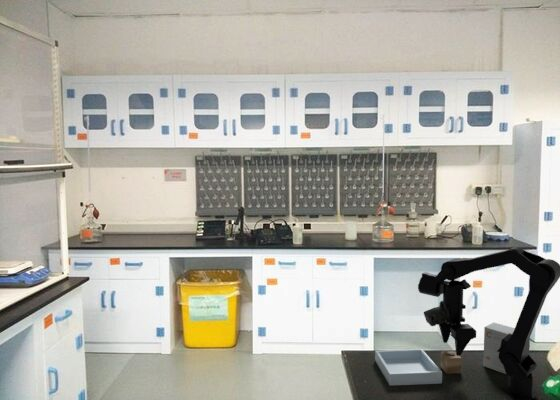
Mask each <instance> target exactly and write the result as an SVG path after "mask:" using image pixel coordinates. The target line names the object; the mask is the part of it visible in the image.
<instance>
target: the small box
mask: <svg viewBox="0 0 560 400" xmlns="http://www.w3.org/2000/svg"><path fill="white" fill-rule="evenodd" d="M514 329H515V327H511V326H508V325H504V324H500V323H497V322H492V323H490V324H488V325H486V326H484V328H483V330H484V331H483V336H484V337H483V360H482V362H483V366H482V367H484V368H488V369H490V370H493V371H496V372H499V373H501V374H505V375H506V372H505V369H504V366H503V364H502V363H501V361H500V360H499V353H500V352H497V350H499V348H500V346H501V341H502V339H503V338H504V337H505V336H507V335H508V334H509V333H510V334H513V332H514Z"/></svg>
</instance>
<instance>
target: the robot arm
mask: <svg viewBox="0 0 560 400" xmlns="http://www.w3.org/2000/svg"><path fill="white" fill-rule="evenodd" d="M509 264H510V265H511V264H512V265H514V266H516V268H517V269H519V270H520V271H521V272H523V273H524V274H526V275H528V276H529V279H528V287H529V288H528V289H529V291H528V293H527V296H526V299H525V301H524V304H523V306H522V309H521V311H520V315H519V316H518V319H517V321H516V324H515V326H514V328H515V329H514V332H513V334H510V333H509V334H508V335H507V336H505V337H504V338H503V339H502V341H501V346H500V348H499V350H497V352H500V353H499V360H500V361H501V363H502V364H503V366H504V369H505V372H506V374H505V375H506V376H507V385H503V386H502V389H503V390H504V391H505V392H506V393H507V394H508V395H509V396H510V397H511V398H513V400H537V399H538V396H537V395H536V394H534V392H533V383H534V379H533V374H532V372H534V371H535V369H536V367H537V365H538V364H537V363H536V361H535V360H534V359H533V358H532V356H530V354H529V353H530V343H531V342H530V338H531V335H532V333H533V331H534V328H535V326H536V323H537V320H538V317H539V316H540V313H541V310H542V309H543V306H544V303H545V300H546V298H547V296H548V294H549V292H551V290H552V289H553V287H555V285H556V284H557V283H558V281H559V280H560V263H559V262H558V261H556V260H554V259H549V258H547V259H546V258H545V257H542V256H541V255H539V254H535V253H533V252H530V251H527V250H525V249H524V248H523V249H522V248H521V247H519V246H515V247H512V248H509V249H505V250H502V251H498V252H492V253H489V254H484V255H481V256H477V257H458V258H456V257H455V258H453V259H450V260H447V261H444V262H443V263H442V264H441V267H440V271H439V272H438V273H437V274H433V273H429V272H426V271H425V272H422V273H421V277H420V279H419V280H418V284H417V289H418V292H419V293H420V294H423V295H428V296H432V297H436V298H438V297H440V296H441V295H442V300H440V302H439V306H436V307H432V308H430V309H427V310H425V311H423V316H424V318H425V321H426V323H427V324H429V326H430V327H436V326H438V327H439V330H440V334H441V337H442V342H443V343H444V344H445V343H446V344H447V343H448V341H449V339H450V336H451V337H452V338H453V339H454V347H455V352H456V355H457V356H460V357H461V355H462V354H463V352H464V350H465V349H466V347H467V346H468V344H469V343H470V342H471V340H473V339H476V338H477V330H476V329H475V328H474V327H472V326H471V325H470V324H469V323H465V322H466V318H465V317H464V316H463V313H464V312H463V311H464V310H466V305H465V304H464V290H467V289H469V288H471V287H472V286H471V284H470V283H469V282H468V281H467V280H466V278H465V279H461V280H457V279H460V278H462V277H465V276H466V275H469V274H470V273H474V272H477V271H482V270H483V271H484V270H487V269H492V268H496V267H500V266H505V265H509ZM463 309H464V310H463ZM463 322H464V323H463Z"/></svg>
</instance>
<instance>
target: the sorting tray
mask: <svg viewBox="0 0 560 400" xmlns="http://www.w3.org/2000/svg"><path fill="white" fill-rule="evenodd" d="M374 357H375V358H374V360H375V363H376V365H377V367H378V368H379V370H380V371H381V374H382V375H383V376H384V378H385V380H386V382H387V384H388V385H389V386H409V385H410V386H413V385H415V386H416V385H434V384H435V385H437V384H442V383H443V371H442V370H441V369H440V368H439V366H438V365H436V363H435V362H434V361H433V360H432V358H431V357H430V356H429V355H428V353H426V352H425V350H424V349H423V348H411V349H385V350H384V349H383V350H382V349H381V350H375V352H374Z"/></svg>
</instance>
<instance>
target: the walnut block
mask: <svg viewBox="0 0 560 400" xmlns="http://www.w3.org/2000/svg"><path fill="white" fill-rule="evenodd" d="M440 368H441V369H442V370H443V372H444V373H446V374H447V375H449V374H462V356H461V355H460V356H457V355H456V350H455V351H451V350H450V351H440Z"/></svg>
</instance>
